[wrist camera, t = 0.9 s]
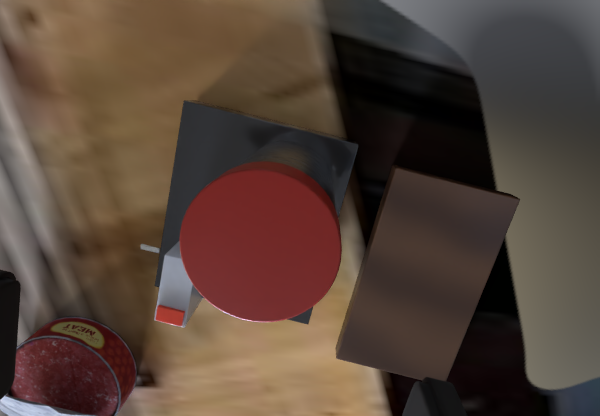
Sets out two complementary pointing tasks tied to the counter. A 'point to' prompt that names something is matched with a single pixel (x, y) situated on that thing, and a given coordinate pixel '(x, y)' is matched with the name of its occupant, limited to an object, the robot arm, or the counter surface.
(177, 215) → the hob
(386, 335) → the board
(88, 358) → the canned food
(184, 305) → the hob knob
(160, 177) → the counter surface
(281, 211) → the jar with red lid
